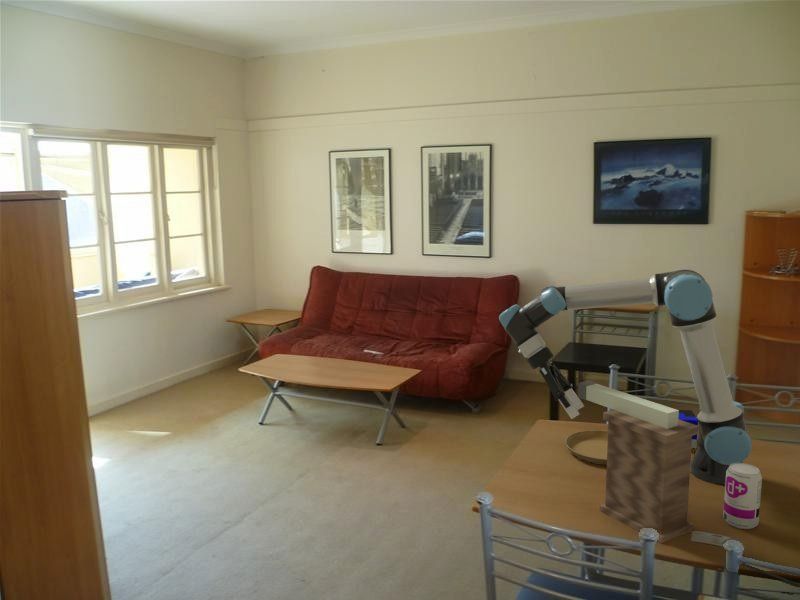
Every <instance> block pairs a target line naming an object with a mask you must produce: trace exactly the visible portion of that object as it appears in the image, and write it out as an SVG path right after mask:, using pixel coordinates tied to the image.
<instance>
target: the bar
mask: <svg viewBox="0 0 800 600" xmlns="http://www.w3.org/2000/svg"><path fill="white" fill-rule="evenodd" d="M577 396H578V398H579V399H580V400H581V399H582V400H584V401H588V402H590V403H591V402H592V403H593V404H597V405H600V406H602V407H604V408H605V407H606V408H608V409H611V410H616V411H619V412H622V413H624V414H627V415H630V416H633V417H636V418H638V419H641V420H644V421H647V422H650V423H652V424H655V425H658V426H661V427H663V428H666V429H669V428H672V427H675V426H678V415H679V410H680V409H676V408H673V407H669V406H667V405H664V404H661V403H657V402H653V401H651V400H648V399H645V398H641V397H639V396H636V395H633V394H629V393H628V392H624V391H621V390H618V389H614V388H611V387H608V386H605V385H602V384H599V383H597V382H594V381H591V380H586V381H582V382H578V385H577Z"/></svg>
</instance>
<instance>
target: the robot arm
mask: <svg viewBox="0 0 800 600" xmlns="http://www.w3.org/2000/svg"><path fill="white" fill-rule="evenodd" d="M643 304H644V305H645V304H654V305H655V306H657V307H659V306H666V308H667V311H668V315H669V319H670V323H671V327H673V328H675V329H676V330H678V331H679V333H680V336H681V337H680V338H681V342H682V345H683V348H684V352H685V355H686V359H687V363H688V366H689V370H690V374H691V377H692V381H693V384H694V389H695V392H696V395H697V400H698V404H699V413H698V414H697V416H696V418H697V419H698V426H699V431H698V437H697V449H695V453H694V455H693V457H692V459H691V463H690V474H692V475H693V476H695V477H696V478H698V479H700V480H703V481H705V482H708V483H712V484H713V483H714V484H719V485H725V482H726V471H727V469H728V468H729V466H730V464H733V463H744V461H745V460H746V459H747V458H748V457H749V456H750V454H751V452H752V449H753V448H752V447H753V443H752V442H753V441H752V438H751V436H750V435H749V432H748V428H747V424H746V421H745V418H744V414H745V409H744V406H743V404H742V403H740V402H738V401H734V400H733V396H732V392H731V388H730V385H729V380H728V378H727V374H726V373H727V372H726V370H725V365H724V361H723V358H722V355H721V351H720V346H719V343H718V341H717V336H716V332H715V329H714V322H715V320H716V319H717V316H718V315H717V313H716V308H715V304H714V301H713V292H712V289H711V286H710V285H709V283H708V282H707V281H706V280H705V278H704V276H702V274H700V273H698V271H695V270H692V269H677V270H673V271H667V272H661V273H654V274H652V275H651V276H650V277H647V278H646V277H645V278H636V279H626V280H615V281H605V282H604V281H603V282H596V283H585V284H574V285H567V286H566V285H565V286H554V285H550V286H549V285H548V286H546V287H545V288H544V287H543V289H542V290H540V292H539V294H537V296H536V297H534V298H533V299H532V300H530V301H529V302H528V303H526V304H525V305H523V306H519V304H514V305H512V306H510V307H509V308H507V309H505V310H504V311H502V312H501V313H500V314H499V316H498V319H499V322H500V324H501V326H502V327H503V329H504V330H505V332H506V333H507V334H508V336H509V337H510V339H511V340H512V342H513V343H514V344H515V345H516V347H517V348H518V353H519V354H522V356H523V357H524V358H527V359H526V362H527V363H528V364H529V366H530V367H531V369H532V370H536V369H537V368H540V369H538V371H539V373H540V375H541V376H542V378H543V379H544V381H545V383H546V385H547V387H548V389H549V391H551V393H552V395H553V397H554V398H553V400H554V401H555V402H556V401H558V402H559V403H560V405H561V406H562V407H563V410H565V412H566V414H567V415H568V416H569V418H570V419H571V420H573V419H574V418H576V417H578V416H579V415H580V414H581V413H580V412H579V410H580V409H582V408H584V407H585V404H584V403H583V401H582V400H581V398H578V394H576V392H575V391H574V390H573V387H574V384H573V383H570V382H569V380H568V379H567V378H566V377H565V376H564V375H563V373H562V372H561V371H560V370H559V368H558V367H557V366H556V365H555V363H554V362H553V361H550V360H551V359H553V358H554V353H553V351H551V349H550V347H548V346H546V345H547V344H546V341H545V340H544V339H543V338H542V337H541V335H540V334H539V332H538V331H537V330H536V329H537V328H538V327H539V326H541V325H543V324H544V323H546V322H547V321H549V320H550V319H551V318H553V317H555V316H556V315H558V314H559V313H560V312H562V311H571V310H573V311H574V310H582V309H583V310H584V309H595V308H606V307H607V308H608V307H609V308H610V307H618V306H631V305H643Z"/></svg>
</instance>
